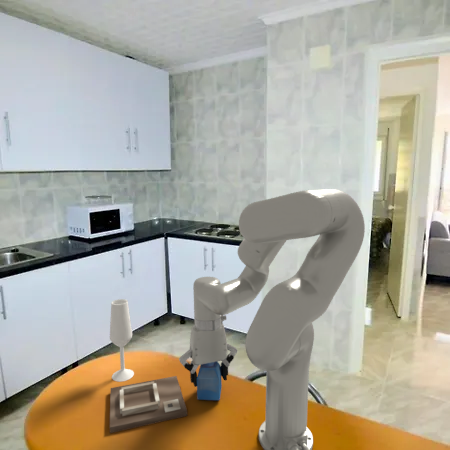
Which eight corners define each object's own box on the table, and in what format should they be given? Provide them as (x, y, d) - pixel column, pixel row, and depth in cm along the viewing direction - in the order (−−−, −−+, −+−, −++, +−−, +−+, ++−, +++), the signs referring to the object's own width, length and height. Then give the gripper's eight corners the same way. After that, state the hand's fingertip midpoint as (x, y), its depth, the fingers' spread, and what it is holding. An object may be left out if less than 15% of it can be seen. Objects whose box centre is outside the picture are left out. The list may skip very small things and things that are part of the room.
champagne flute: (137, 369, 107) (134, 298, 103) (128, 382, 100) (125, 306, 97) (117, 368, 108) (114, 297, 104) (107, 380, 101) (103, 305, 98)
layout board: (187, 415, 86) (187, 405, 86) (110, 433, 80) (109, 421, 80) (176, 380, 101) (176, 371, 101) (110, 392, 95) (110, 383, 95)
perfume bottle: (221, 386, 97) (220, 347, 96) (219, 400, 91) (218, 359, 90) (200, 386, 98) (199, 347, 96) (197, 399, 91) (196, 358, 90)
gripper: (233, 312, 98) (234, 368, 100) (174, 321, 93) (176, 379, 95) (242, 322, 91) (243, 382, 93) (179, 332, 86) (181, 395, 88)
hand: (209, 380), depth 94 cm, fingers closed on perfume bottle, 8 cm apart
